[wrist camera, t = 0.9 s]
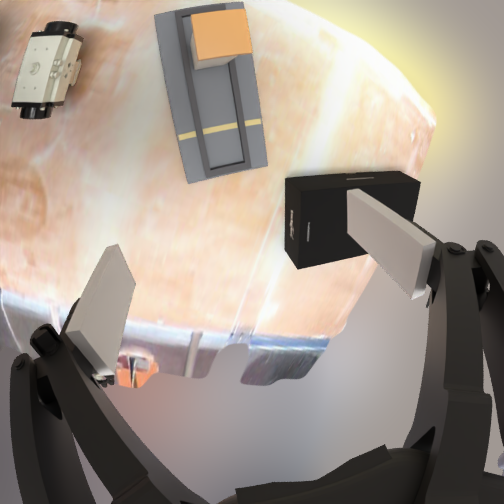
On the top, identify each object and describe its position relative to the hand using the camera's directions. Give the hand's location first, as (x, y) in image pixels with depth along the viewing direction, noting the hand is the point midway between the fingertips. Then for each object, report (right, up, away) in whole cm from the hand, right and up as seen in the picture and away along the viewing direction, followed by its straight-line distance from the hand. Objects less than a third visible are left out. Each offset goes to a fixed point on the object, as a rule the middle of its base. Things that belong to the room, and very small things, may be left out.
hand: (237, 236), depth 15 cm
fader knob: (-5, +25, +13) cm, 29 cm away
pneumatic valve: (-24, +24, +10) cm, 35 cm away
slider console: (-5, +21, +17) cm, 28 cm away
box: (+18, +8, +34) cm, 39 cm away
